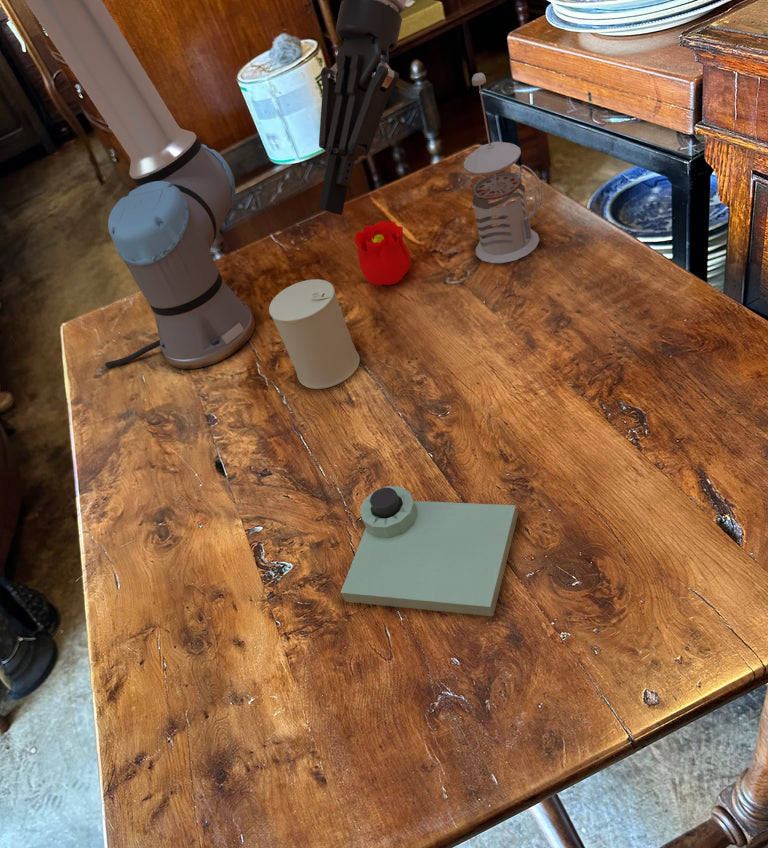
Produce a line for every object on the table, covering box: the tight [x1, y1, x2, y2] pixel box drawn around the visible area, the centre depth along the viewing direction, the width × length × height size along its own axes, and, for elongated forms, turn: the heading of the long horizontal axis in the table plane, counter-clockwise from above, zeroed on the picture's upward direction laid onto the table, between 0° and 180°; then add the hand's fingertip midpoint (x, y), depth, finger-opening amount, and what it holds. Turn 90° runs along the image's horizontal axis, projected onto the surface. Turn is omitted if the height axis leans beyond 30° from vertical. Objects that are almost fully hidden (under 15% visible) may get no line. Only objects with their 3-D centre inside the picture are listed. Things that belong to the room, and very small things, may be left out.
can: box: [268, 278, 361, 390], centre depth 107 cm, size 9×9×12 cm
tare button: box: [370, 487, 401, 518], centre depth 85 cm, size 3×3×2 cm
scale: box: [340, 485, 519, 617], centre depth 83 cm, size 16×13×4 cm
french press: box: [463, 72, 543, 264], centre depth 111 cm, size 10×12×25 cm
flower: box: [353, 220, 412, 286], centre depth 120 cm, size 8×8×8 cm
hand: (330, 211), depth 101 cm, fingers closed
